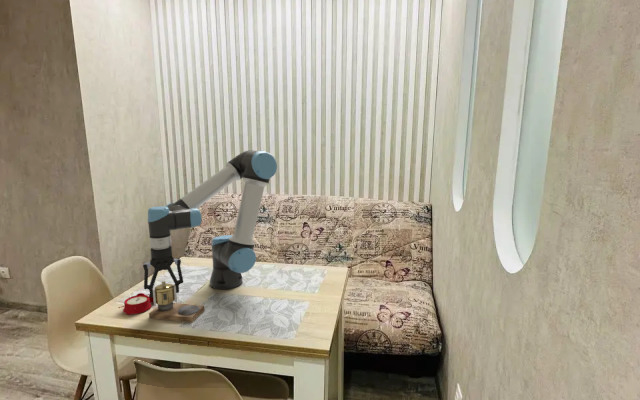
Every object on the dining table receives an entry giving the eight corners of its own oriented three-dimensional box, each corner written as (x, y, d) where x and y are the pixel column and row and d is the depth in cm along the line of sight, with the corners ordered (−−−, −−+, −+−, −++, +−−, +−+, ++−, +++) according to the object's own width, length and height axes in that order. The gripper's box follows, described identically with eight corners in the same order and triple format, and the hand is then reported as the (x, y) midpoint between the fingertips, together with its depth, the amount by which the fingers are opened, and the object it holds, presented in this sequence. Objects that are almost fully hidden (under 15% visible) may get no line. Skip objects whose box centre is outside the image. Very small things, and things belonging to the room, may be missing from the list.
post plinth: (149, 318, 143) (147, 295, 142) (164, 306, 153) (162, 284, 151) (191, 322, 140) (190, 298, 138) (204, 310, 150) (203, 288, 148)
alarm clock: (114, 306, 146) (139, 283, 159) (118, 318, 148) (142, 295, 161) (136, 309, 143) (160, 286, 157) (140, 321, 146) (163, 298, 159)
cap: (155, 299, 148) (154, 282, 147) (173, 296, 151) (172, 279, 150) (156, 306, 142) (154, 288, 141) (175, 303, 145) (173, 285, 144)
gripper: (132, 253, 135) (137, 311, 139) (189, 246, 143) (192, 301, 147) (132, 247, 142) (137, 303, 146) (186, 241, 150) (190, 294, 154)
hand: (165, 302), depth 147 cm, fingers closed on cap, 7 cm apart
